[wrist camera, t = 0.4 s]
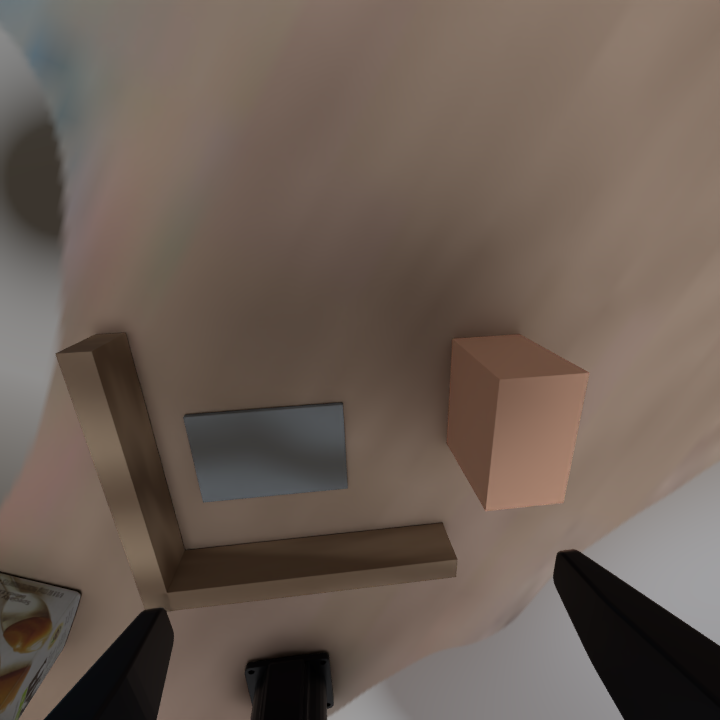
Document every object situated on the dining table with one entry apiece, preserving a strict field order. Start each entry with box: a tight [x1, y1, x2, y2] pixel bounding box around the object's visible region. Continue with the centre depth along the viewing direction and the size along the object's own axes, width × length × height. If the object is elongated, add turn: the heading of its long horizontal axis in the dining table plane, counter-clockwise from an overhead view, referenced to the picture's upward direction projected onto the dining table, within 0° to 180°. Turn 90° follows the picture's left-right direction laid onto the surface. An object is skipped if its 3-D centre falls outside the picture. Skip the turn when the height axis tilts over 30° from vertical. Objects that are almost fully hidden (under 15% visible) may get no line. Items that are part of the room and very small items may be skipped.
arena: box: [56, 333, 457, 612], centre depth 21 cm, size 16×19×3 cm
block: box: [447, 334, 589, 511], centre depth 19 cm, size 7×4×6 cm, turn 2°
